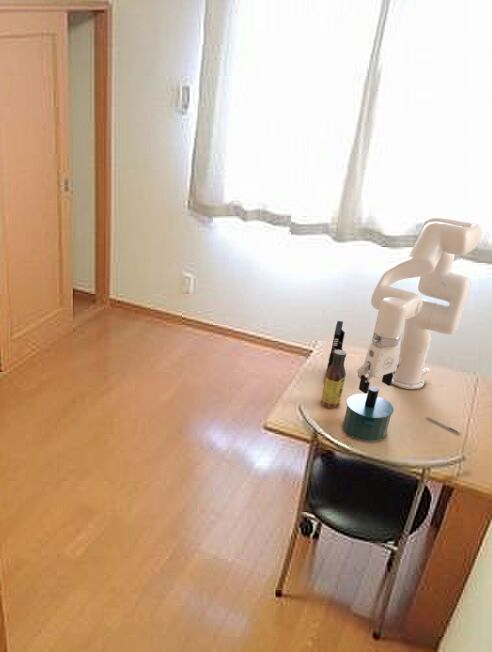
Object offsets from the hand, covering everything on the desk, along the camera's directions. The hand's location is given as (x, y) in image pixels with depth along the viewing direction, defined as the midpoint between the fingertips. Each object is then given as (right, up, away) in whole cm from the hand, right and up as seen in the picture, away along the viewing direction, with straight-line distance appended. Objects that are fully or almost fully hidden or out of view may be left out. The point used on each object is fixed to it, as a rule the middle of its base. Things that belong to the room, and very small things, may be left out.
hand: (374, 387), depth 202 cm
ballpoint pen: (+26, -13, +11) cm, 31 cm away
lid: (0, -6, +3) cm, 7 cm away
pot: (-1, -14, +8) cm, 16 cm away
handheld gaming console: (-3, +4, +37) cm, 37 cm away
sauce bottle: (-8, -6, +21) cm, 23 cm away
